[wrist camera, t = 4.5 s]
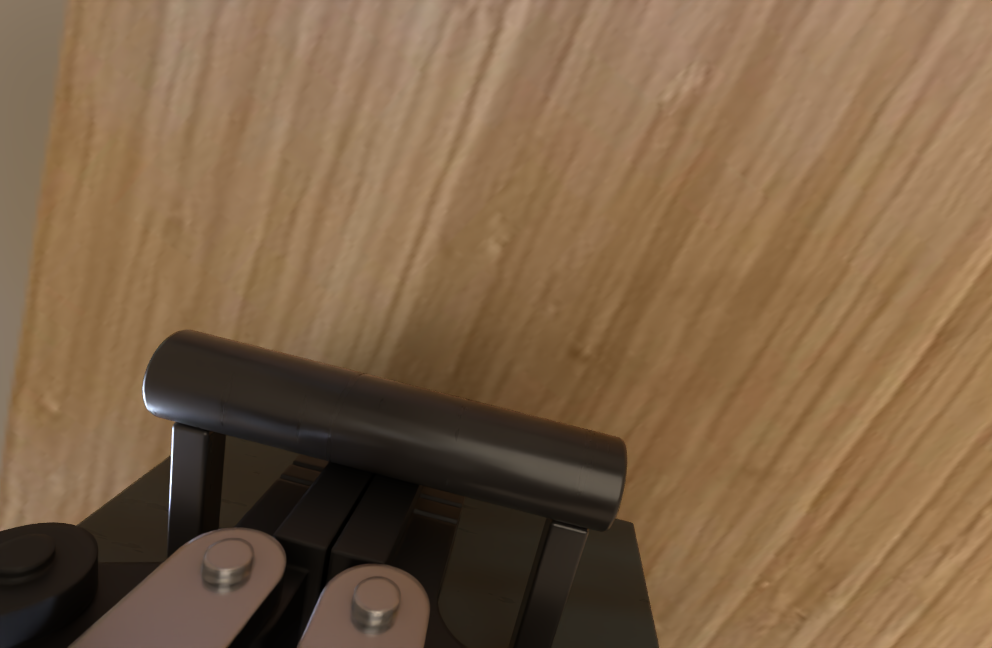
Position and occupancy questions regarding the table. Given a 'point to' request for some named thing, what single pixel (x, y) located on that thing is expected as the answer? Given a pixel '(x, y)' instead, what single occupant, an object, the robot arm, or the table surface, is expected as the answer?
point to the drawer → (404, 456)
